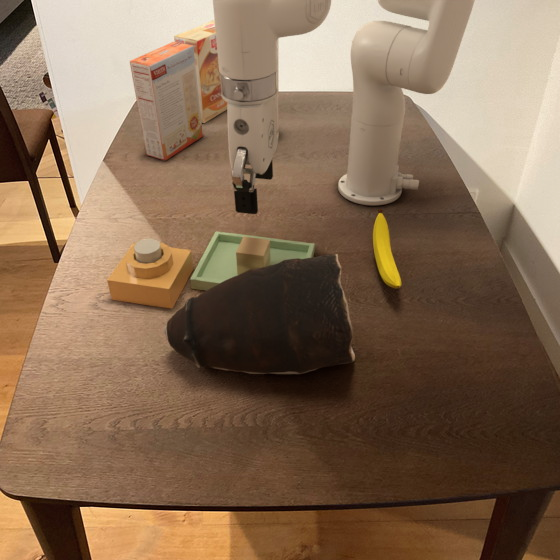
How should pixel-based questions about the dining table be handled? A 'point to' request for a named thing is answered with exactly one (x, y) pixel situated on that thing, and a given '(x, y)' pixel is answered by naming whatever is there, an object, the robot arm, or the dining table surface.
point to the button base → (151, 278)
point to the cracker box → (167, 99)
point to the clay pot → (268, 320)
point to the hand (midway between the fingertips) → (255, 194)
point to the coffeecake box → (205, 68)
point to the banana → (384, 252)
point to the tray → (223, 263)
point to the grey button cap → (148, 251)
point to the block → (252, 254)
